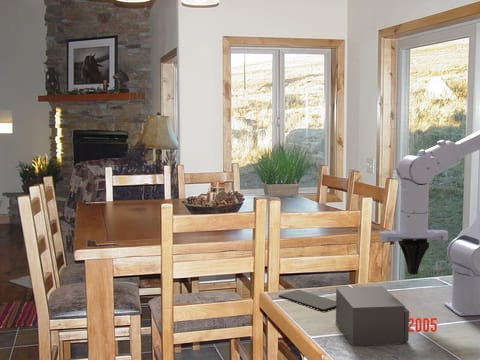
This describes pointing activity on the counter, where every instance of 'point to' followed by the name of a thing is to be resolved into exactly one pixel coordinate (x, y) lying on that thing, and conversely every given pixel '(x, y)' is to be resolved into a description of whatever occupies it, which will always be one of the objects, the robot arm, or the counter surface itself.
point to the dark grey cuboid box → (370, 316)
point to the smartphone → (310, 300)
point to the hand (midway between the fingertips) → (412, 273)
